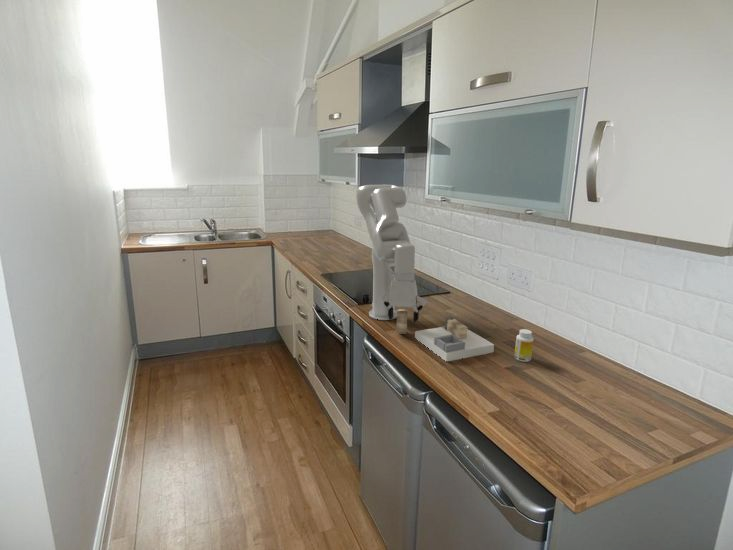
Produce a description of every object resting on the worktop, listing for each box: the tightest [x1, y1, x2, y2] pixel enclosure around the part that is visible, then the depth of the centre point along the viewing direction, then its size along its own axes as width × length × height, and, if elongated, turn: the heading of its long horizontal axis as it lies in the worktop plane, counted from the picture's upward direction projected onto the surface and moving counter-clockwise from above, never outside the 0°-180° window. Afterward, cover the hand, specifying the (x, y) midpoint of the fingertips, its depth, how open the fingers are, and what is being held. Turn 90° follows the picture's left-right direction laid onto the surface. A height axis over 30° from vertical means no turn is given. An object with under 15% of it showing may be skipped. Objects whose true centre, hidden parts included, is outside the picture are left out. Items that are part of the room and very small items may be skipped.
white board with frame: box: [414, 326, 495, 362], centre depth 163 cm, size 21×20×6 cm
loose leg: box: [395, 308, 409, 335], centre depth 173 cm, size 4×4×9 cm
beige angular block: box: [444, 316, 469, 338], centre depth 167 cm, size 12×3×4 cm, turn 21°
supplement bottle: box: [513, 328, 535, 363], centre depth 153 cm, size 6×6×10 cm
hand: (403, 319), depth 172 cm, fingers open, 9 cm apart
